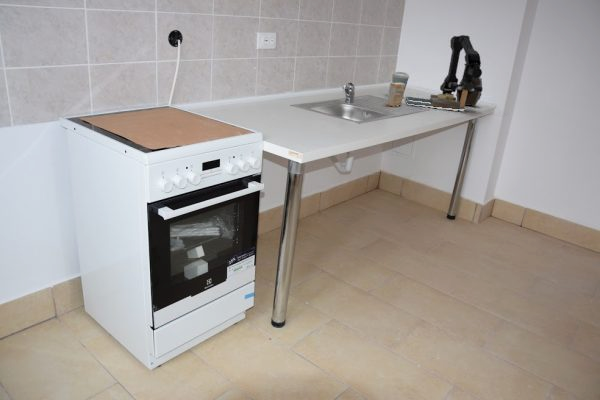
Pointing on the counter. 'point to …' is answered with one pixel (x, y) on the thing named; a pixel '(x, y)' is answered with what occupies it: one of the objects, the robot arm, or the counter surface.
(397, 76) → the disposable coffee cup
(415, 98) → the slate tray
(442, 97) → the brass block
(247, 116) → the counter surface
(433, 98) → the railed tan board
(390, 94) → the supplement box
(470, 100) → the dark brown rounded block
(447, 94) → the brass block
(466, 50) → the robot arm
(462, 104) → the brown and grey block
